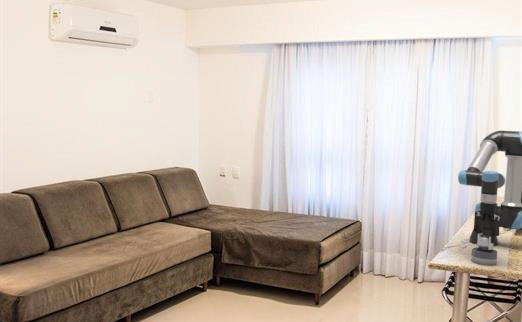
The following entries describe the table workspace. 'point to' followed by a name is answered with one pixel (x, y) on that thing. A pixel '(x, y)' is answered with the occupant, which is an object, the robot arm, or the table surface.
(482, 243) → the cap
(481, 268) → the table surface
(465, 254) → the table surface
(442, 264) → the table surface
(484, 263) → the grey short cylinder
